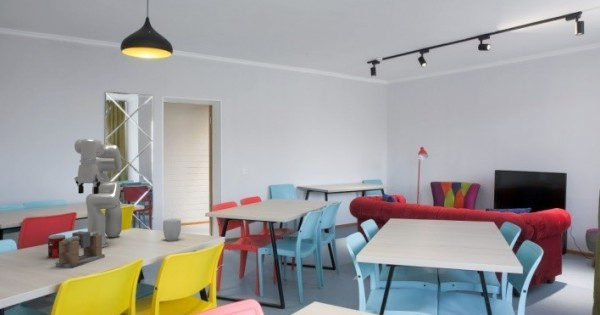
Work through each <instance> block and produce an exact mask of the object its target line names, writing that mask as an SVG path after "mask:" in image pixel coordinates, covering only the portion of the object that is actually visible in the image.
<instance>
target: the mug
mask: <svg viewBox="0 0 600 315" xmlns="http://www.w3.org/2000/svg"><path fill="white" fill-rule="evenodd" d="M181 230H182V219H181V218H173V217H172V218H165V219H163V220H162V231H163V236H164V239H165V240H166V241H167V242H174V241H178V239H179V237H180V234H181Z"/></svg>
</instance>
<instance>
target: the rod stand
mask: <svg viewBox="0 0 600 315" xmlns="http://www.w3.org/2000/svg"><path fill="white" fill-rule="evenodd" d="M78 240H81V236H74V237H72V236H70V237H67V238H66V237H65V239H64V240H63V241H60V242H59V258H58V262H56V263H55V267H57V268H58V267H60V268H67V267H68V269H71V268H72V269H74V268H78V267H79V266H80V267H81V266H83V265H85V264H88V263H91V262H96V261H98V260H100V259H104V258H105V256H106V254H105V253H104V254H103V252H102V251H103V248H102V235H98V232H97V231H94V232H90V246H88V247H85V248H82V250H83V252H82V253H83V254H81V255H80V246H79V241H78Z"/></svg>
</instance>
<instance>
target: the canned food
mask: <svg viewBox="0 0 600 315" xmlns="http://www.w3.org/2000/svg"><path fill="white" fill-rule="evenodd" d="M64 239H66V235H65V234H55V235H49V236H48V238H47V255H48V256H47V257H48V258H49V259H59V242H60V241H63V240H64Z"/></svg>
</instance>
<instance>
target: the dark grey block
mask: <svg viewBox="0 0 600 315" xmlns="http://www.w3.org/2000/svg"><path fill="white" fill-rule="evenodd" d="M71 235H72V236H71V237H74V236H81V240H78V241H79V247H80V249H83V248H85V247H88V246H90V232H88V231H84V230H81V231H80V230H79V231H75V232H72V234H71Z"/></svg>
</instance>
